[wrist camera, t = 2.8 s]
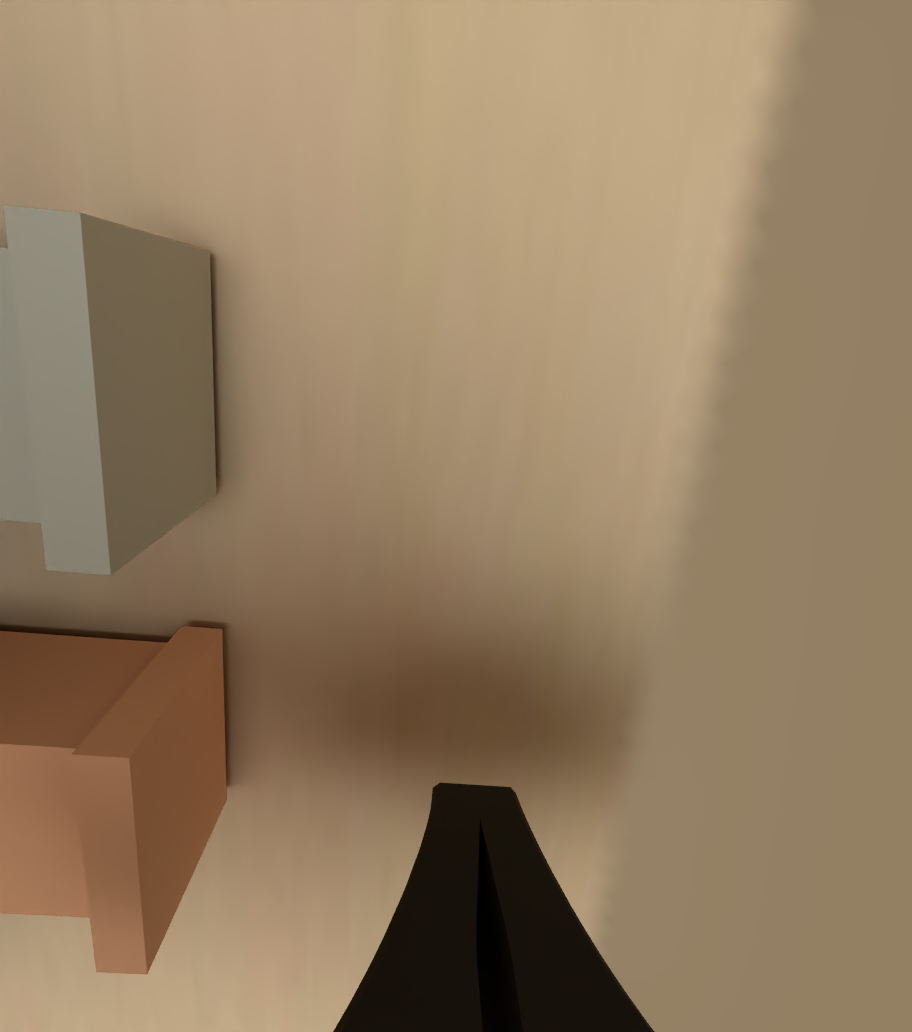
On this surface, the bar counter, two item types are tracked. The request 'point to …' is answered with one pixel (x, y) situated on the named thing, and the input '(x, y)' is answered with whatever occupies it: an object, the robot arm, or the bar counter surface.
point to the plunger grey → (102, 385)
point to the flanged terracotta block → (109, 780)
